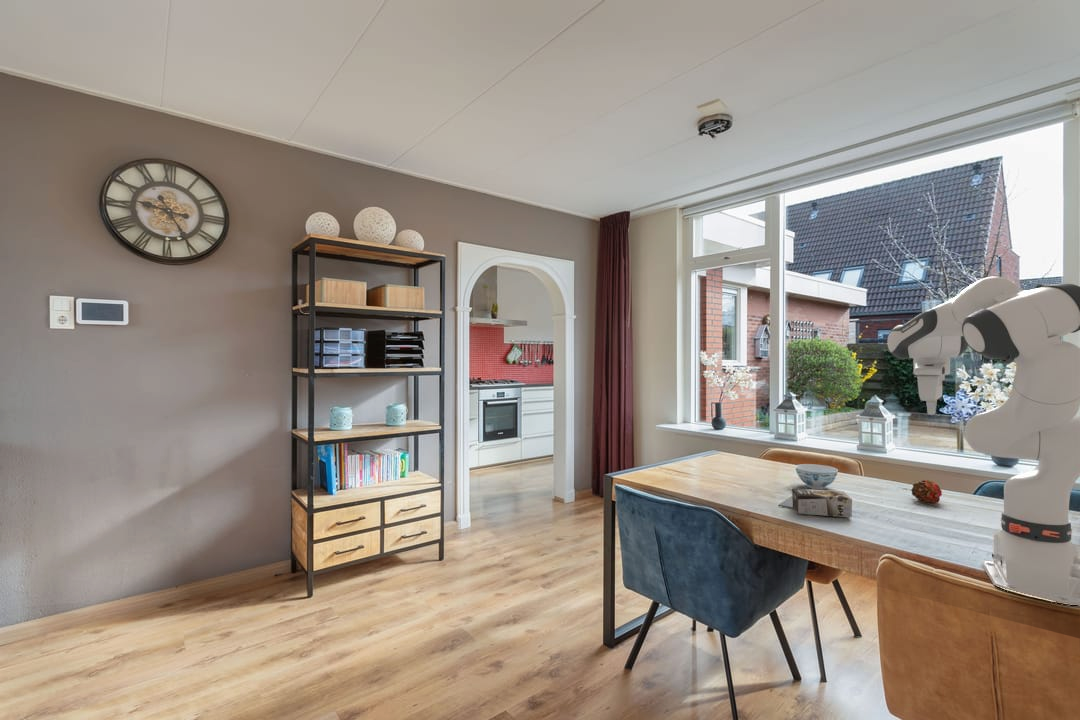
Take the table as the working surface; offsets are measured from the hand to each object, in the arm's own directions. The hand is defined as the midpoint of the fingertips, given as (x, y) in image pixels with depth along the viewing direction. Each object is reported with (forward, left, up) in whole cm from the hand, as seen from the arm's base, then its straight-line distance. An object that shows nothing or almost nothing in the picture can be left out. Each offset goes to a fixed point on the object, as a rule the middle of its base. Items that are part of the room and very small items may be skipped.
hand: (931, 414), depth 154 cm
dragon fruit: (+35, +5, -35) cm, 50 cm away
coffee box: (-1, +22, -31) cm, 38 cm away
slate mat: (+1, +34, -35) cm, 49 cm away
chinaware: (+31, +40, -35) cm, 62 cm away
